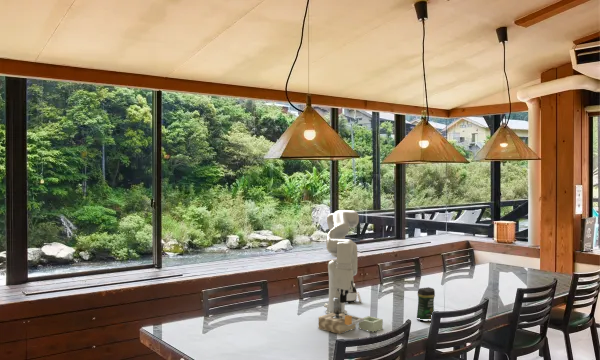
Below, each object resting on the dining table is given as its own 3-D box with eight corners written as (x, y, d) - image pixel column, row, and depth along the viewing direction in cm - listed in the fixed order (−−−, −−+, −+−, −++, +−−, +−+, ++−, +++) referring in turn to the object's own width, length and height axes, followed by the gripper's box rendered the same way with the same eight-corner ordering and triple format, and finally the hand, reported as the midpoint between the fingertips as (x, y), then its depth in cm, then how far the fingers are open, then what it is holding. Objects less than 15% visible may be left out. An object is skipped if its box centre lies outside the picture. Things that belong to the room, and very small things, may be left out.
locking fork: (332, 322, 247) (332, 313, 247) (349, 317, 257) (349, 308, 257) (348, 326, 240) (348, 317, 240) (364, 321, 251) (364, 311, 251)
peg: (331, 328, 259) (331, 298, 259) (336, 326, 262) (336, 296, 262) (337, 330, 256) (338, 299, 256) (342, 328, 259) (343, 298, 259)
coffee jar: (424, 323, 272) (425, 289, 272) (414, 319, 278) (415, 287, 279) (436, 320, 277) (437, 288, 277) (426, 317, 283) (427, 285, 284)
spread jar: (340, 300, 322) (341, 282, 322) (356, 299, 326) (356, 281, 326) (348, 304, 311) (349, 286, 311) (364, 303, 315) (364, 285, 315)
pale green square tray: (358, 328, 259) (359, 319, 259) (368, 325, 266) (368, 316, 266) (373, 332, 253) (373, 322, 253) (382, 328, 260) (382, 319, 260)
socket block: (318, 328, 258) (318, 316, 258) (334, 322, 269) (334, 312, 269) (339, 334, 249) (339, 322, 249) (355, 328, 259) (355, 317, 259)
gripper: (327, 264, 247) (327, 300, 247) (351, 269, 237) (350, 306, 237) (336, 262, 252) (336, 298, 253) (360, 267, 242) (359, 303, 243)
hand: (343, 302), depth 245 cm, fingers closed
